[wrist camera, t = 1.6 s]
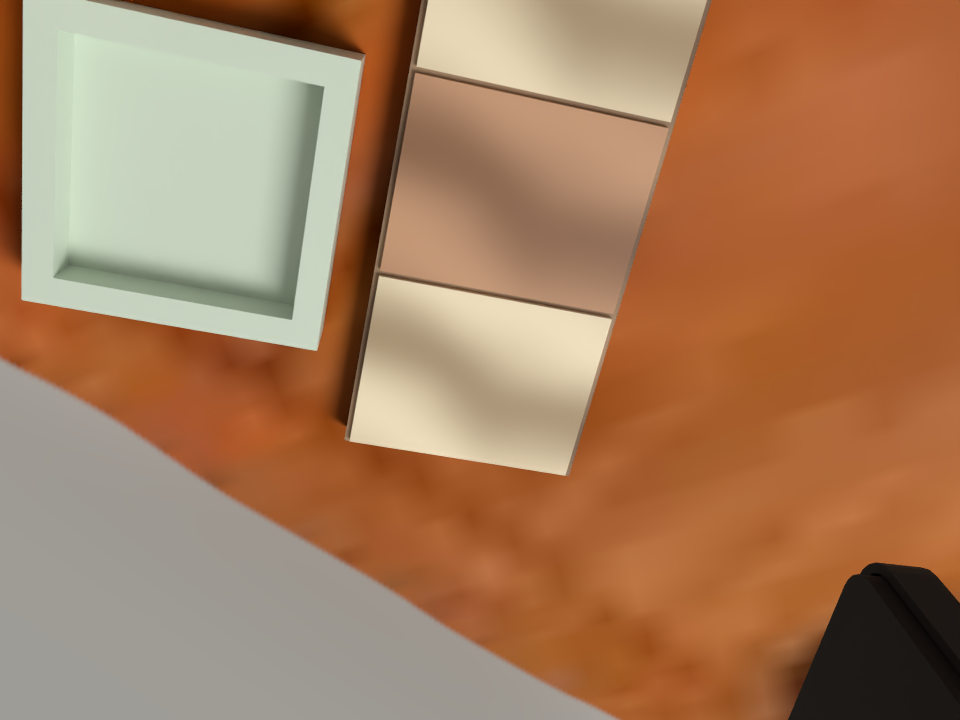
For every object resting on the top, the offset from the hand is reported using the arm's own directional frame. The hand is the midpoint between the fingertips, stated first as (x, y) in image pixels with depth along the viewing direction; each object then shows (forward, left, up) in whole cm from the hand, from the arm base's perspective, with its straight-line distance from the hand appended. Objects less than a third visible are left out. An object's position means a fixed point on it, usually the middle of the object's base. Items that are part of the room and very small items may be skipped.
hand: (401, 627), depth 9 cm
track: (0, +4, -24) cm, 24 cm away
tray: (+2, -7, -24) cm, 25 cm away
